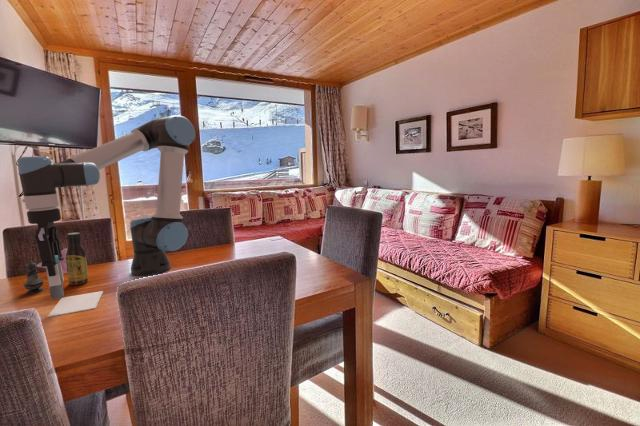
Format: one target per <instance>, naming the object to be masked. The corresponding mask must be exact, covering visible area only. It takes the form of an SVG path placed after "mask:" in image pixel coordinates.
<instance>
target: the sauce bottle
mask: <svg viewBox="0 0 640 426" xmlns="http://www.w3.org/2000/svg"><path fill="white" fill-rule="evenodd" d="M66 236H67V239H68V240H67V241H68V245H67V253H66V264H67V274H66V275H67V281H68V284H69V286H79V285H82V284H85V283H88V280H89V279H88V278H89V274H88V261H87V255H86V249H85V247H84V246H83V245H82V242H81V241H82V240H81V237H82V234H81V232H69V233H67V234H66Z"/></svg>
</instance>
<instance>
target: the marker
mask: <svg viewBox="0 0 640 426" xmlns="http://www.w3.org/2000/svg"><path fill="white" fill-rule="evenodd" d="M55 260H56V264H58V270H59V275H60V280H61V285H57V286H51V287H49V286H48V287H49V294H50V299H52V300H53V299H54V300H57V299H61V298H63V297H64V296H65V290H64V286H63V285H64V284H63V282H62V278H61V273H60V267H59V258H58V255H55ZM47 282H48V281H47ZM48 284H49V282H48Z"/></svg>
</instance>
